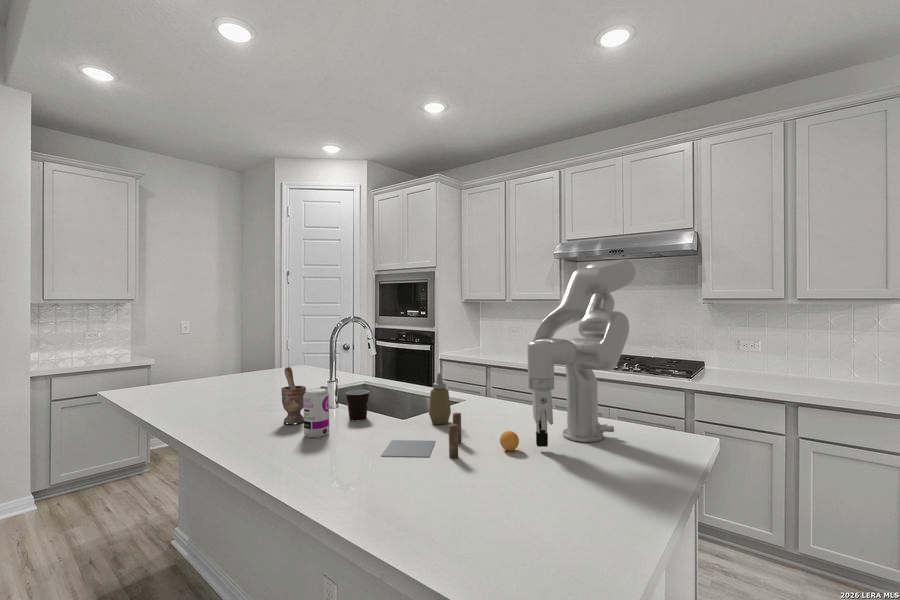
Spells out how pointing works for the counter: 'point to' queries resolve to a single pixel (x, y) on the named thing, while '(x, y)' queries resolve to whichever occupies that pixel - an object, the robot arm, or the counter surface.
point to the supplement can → (316, 412)
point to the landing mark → (409, 448)
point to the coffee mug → (357, 404)
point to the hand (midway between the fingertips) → (542, 445)
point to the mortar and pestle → (292, 399)
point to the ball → (509, 440)
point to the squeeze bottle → (439, 402)
